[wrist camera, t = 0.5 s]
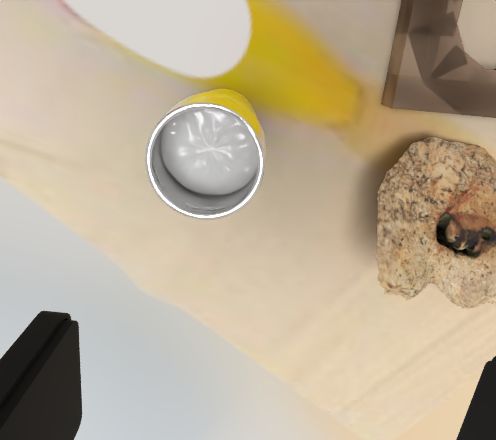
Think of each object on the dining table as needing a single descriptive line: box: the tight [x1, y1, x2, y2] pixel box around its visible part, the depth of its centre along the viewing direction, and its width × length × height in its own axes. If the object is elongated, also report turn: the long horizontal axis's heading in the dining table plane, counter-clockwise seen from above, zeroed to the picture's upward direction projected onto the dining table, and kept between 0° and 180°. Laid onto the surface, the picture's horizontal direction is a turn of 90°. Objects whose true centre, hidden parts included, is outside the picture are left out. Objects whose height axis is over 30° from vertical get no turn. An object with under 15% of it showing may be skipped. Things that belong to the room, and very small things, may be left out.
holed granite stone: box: [375, 137, 496, 308], centre depth 38 cm, size 18×14×8 cm
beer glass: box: [145, 88, 266, 220], centre depth 30 cm, size 7×7×15 cm
